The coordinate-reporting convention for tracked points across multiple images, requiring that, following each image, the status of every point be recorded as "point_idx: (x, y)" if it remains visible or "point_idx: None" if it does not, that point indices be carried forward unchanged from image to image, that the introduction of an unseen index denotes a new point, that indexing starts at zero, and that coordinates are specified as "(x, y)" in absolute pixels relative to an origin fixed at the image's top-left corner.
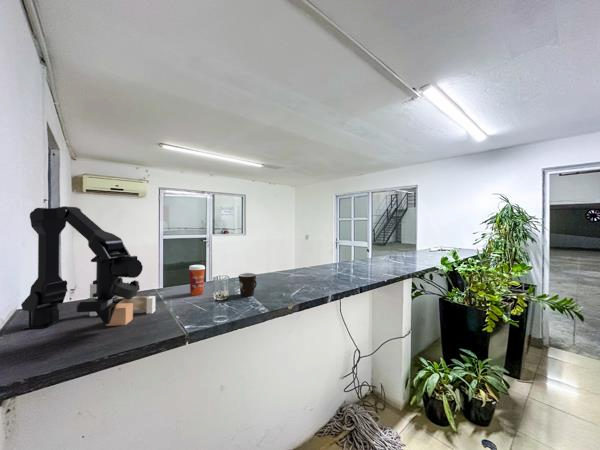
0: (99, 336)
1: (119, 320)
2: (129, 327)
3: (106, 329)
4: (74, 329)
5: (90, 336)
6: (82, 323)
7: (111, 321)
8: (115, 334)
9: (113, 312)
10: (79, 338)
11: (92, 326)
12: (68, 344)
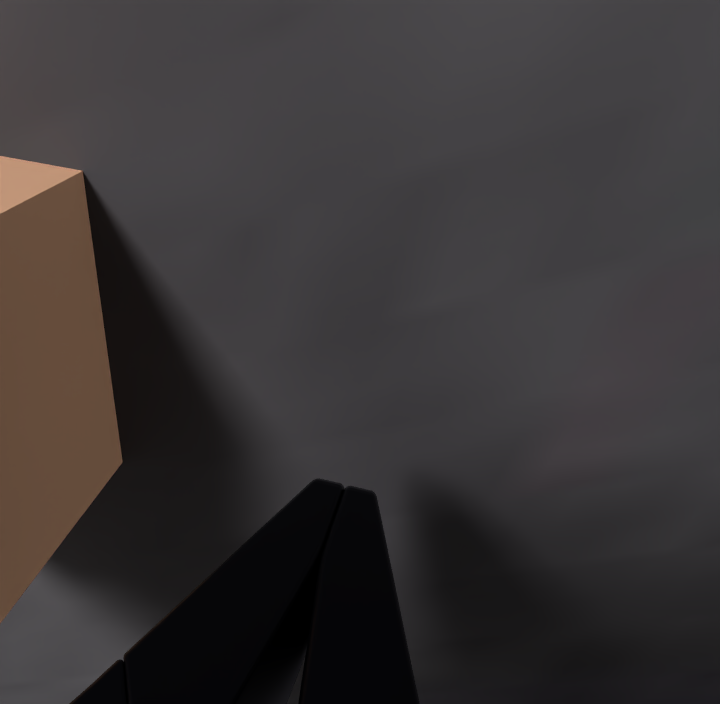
0: (566, 454)
1: (36, 331)
2: (233, 18)
3: (269, 427)
4: None
5: (506, 554)
6: (49, 667)
7: (68, 447)
8: (592, 215)
9: (127, 654)
10: (526, 638)
11: (136, 587)
12: (696, 696)
